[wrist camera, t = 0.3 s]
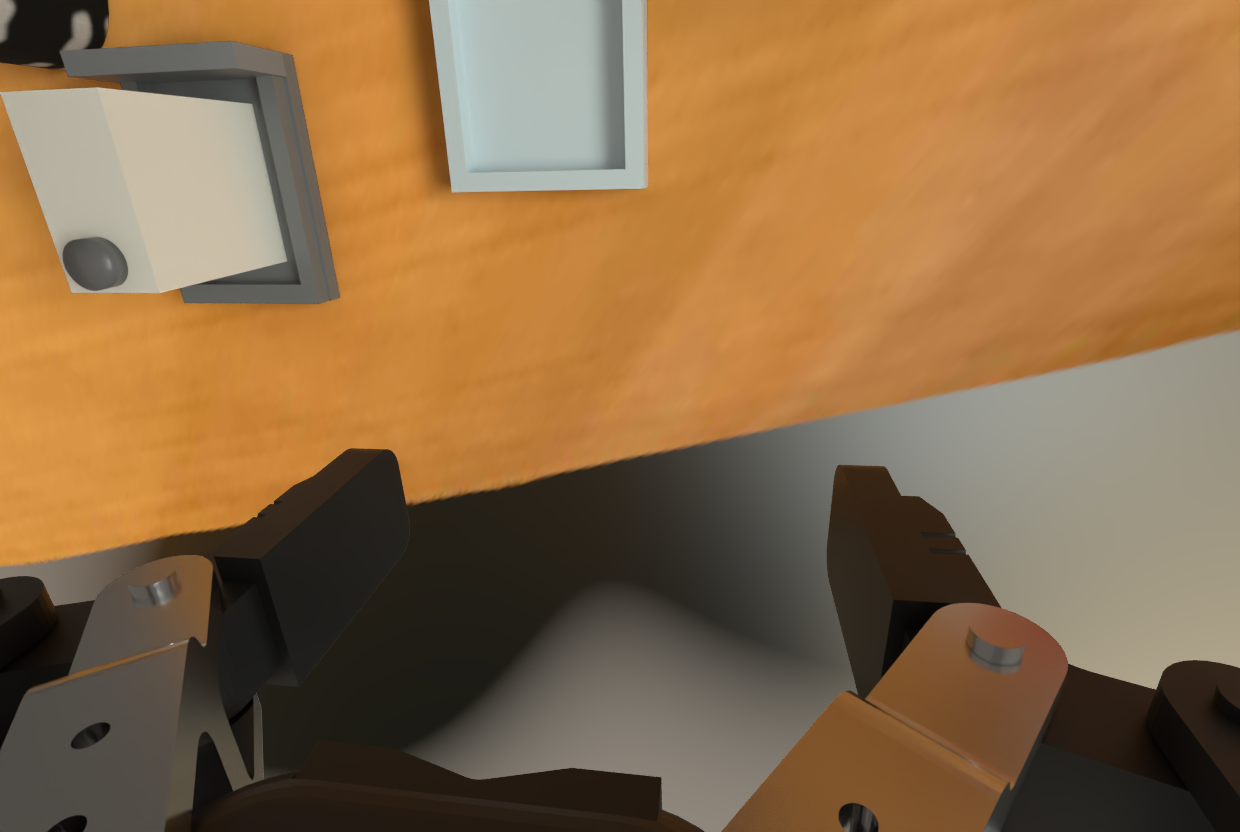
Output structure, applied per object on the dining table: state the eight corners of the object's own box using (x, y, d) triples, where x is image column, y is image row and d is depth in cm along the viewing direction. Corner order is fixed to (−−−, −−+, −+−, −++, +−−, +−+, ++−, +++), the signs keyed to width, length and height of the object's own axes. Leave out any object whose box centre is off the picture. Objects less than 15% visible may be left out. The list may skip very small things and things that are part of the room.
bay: (139, 63, 38) (59, 51, 33) (292, 55, 36) (231, 41, 32) (204, 296, 43) (143, 313, 38) (339, 297, 42) (293, 315, 37)
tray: (430, -123, 32) (412, -141, 30) (645, -143, 30) (640, -163, 28) (465, 190, 38) (451, 192, 36) (648, 186, 36) (644, 188, 34)
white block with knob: (175, 107, 37) (-25, 90, 27) (252, 104, 37) (75, 85, 27) (216, 261, 41) (52, 296, 31) (287, 261, 40) (142, 297, 30)
